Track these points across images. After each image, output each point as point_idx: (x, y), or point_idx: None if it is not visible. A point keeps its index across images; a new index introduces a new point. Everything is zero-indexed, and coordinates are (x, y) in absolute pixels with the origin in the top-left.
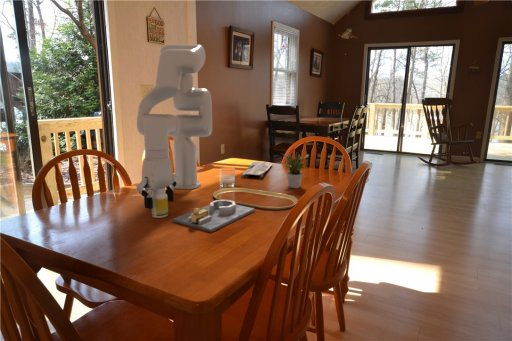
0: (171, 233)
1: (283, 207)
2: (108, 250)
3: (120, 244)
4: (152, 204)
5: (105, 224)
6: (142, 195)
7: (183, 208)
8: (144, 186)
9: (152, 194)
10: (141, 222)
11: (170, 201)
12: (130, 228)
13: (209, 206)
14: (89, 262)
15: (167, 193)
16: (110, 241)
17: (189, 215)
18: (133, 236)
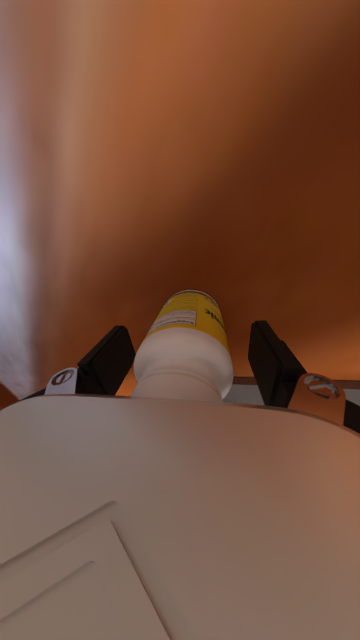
0: None
1: None
2: (27, 376)
3: (46, 374)
4: (128, 370)
5: (10, 245)
6: (53, 384)
7: (311, 322)
8: (28, 404)
9: (142, 364)
10: (115, 319)
11: (249, 351)
12: (77, 331)
13: (347, 398)
14: (3, 383)
15: (265, 367)
16: (29, 354)
17: (229, 396)
18: (74, 367)
